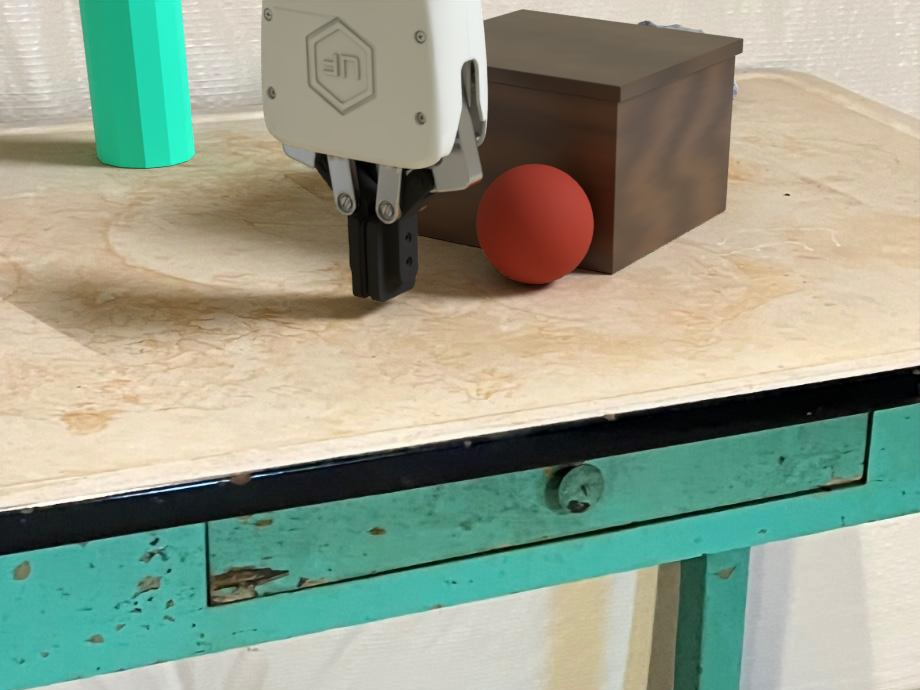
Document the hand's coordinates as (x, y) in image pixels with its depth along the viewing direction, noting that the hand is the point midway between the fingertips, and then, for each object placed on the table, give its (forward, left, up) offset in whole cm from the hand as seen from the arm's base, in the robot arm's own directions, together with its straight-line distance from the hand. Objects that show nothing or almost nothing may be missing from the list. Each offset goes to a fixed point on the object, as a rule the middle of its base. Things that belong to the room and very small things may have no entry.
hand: (384, 291), depth 84 cm
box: (+14, +11, -1) cm, 18 cm away
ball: (+8, +1, +2) cm, 9 cm away
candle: (-6, +32, -1) cm, 32 cm away
